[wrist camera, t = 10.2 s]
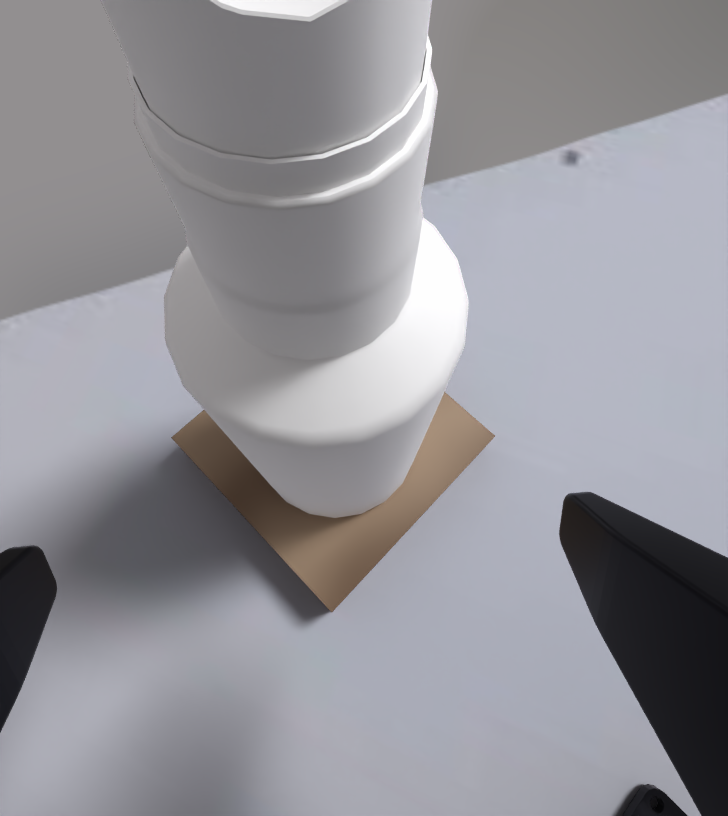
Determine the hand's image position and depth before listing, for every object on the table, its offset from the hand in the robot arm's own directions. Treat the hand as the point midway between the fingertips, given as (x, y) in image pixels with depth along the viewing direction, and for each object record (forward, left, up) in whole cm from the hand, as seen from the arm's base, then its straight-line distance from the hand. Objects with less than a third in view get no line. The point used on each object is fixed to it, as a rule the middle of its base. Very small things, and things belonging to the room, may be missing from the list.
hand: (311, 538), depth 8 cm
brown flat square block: (+4, -4, -14) cm, 15 cm away
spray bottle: (+4, -4, -12) cm, 13 cm away
